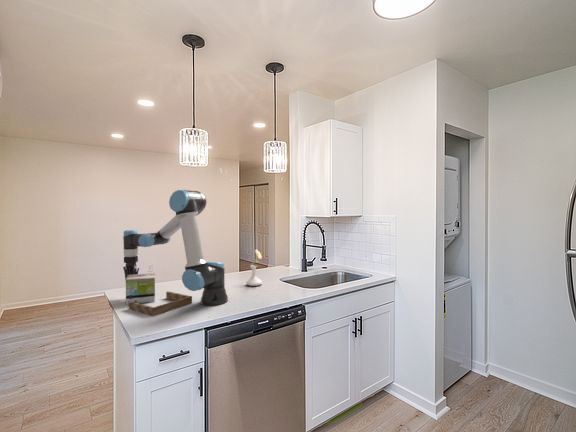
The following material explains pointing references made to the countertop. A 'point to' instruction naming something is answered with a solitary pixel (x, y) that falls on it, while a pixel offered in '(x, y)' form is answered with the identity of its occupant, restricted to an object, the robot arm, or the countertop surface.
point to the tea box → (140, 288)
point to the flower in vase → (254, 280)
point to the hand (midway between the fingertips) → (131, 294)
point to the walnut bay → (153, 311)
